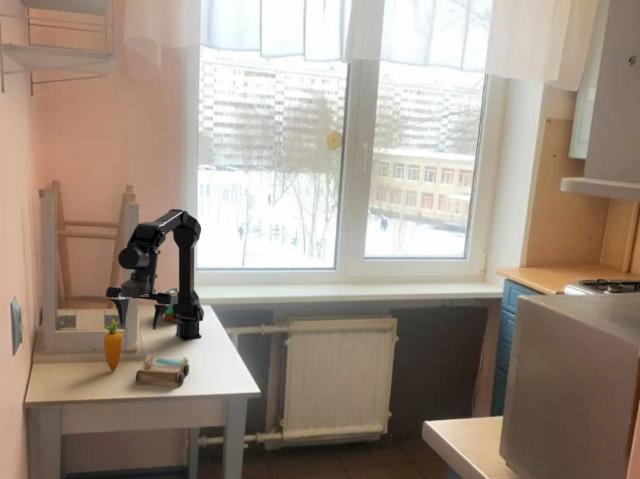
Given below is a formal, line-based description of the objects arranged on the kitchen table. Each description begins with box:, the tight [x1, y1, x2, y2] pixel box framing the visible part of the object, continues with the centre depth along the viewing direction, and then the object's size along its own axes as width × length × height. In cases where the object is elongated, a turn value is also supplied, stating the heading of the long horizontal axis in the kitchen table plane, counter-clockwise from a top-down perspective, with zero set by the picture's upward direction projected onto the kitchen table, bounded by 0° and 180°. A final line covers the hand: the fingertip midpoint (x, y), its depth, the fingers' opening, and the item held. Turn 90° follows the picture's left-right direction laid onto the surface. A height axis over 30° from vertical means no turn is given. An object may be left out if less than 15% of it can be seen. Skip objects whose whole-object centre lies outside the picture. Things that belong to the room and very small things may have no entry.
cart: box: [135, 354, 190, 388], centre depth 169 cm, size 17×13×4 cm
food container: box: [162, 286, 179, 324], centre depth 211 cm, size 12×6×10 cm, turn 20°
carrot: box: [103, 318, 123, 372], centre depth 167 cm, size 5×5×15 cm
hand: (138, 327), depth 161 cm, fingers open, 9 cm apart
